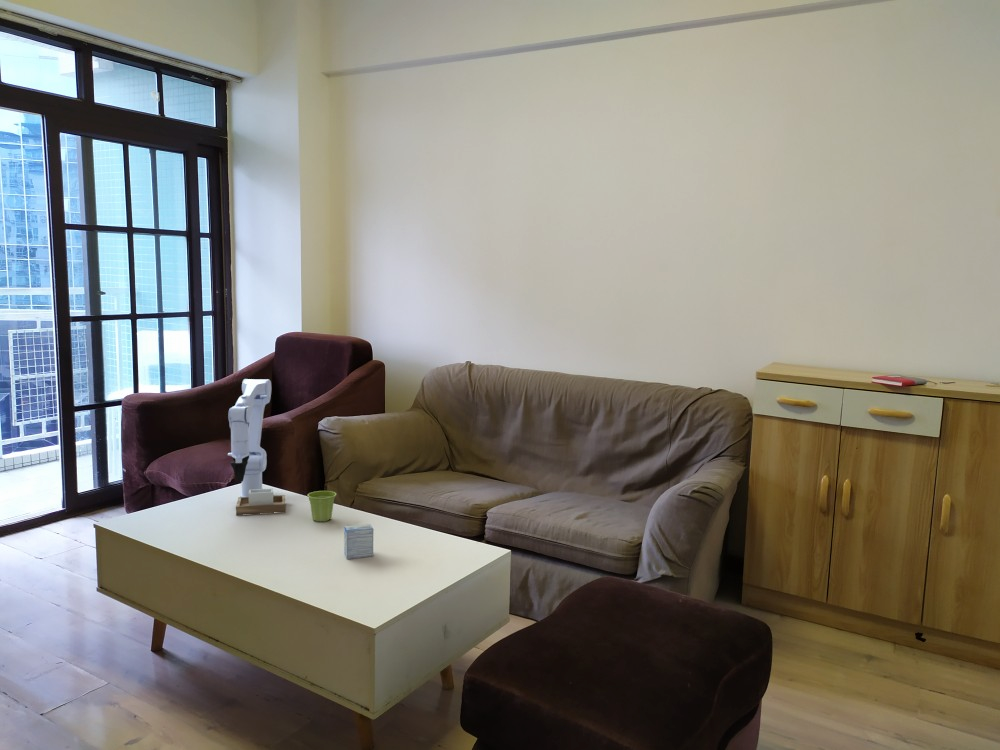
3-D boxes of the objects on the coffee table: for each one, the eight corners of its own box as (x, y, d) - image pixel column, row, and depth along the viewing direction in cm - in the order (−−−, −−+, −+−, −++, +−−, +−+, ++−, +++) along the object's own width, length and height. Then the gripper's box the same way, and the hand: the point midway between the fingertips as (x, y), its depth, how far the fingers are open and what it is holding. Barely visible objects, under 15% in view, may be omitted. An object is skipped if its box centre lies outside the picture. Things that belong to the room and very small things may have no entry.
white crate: (249, 504, 259) (249, 489, 259) (273, 503, 261) (273, 488, 261) (248, 508, 254) (248, 493, 254) (273, 507, 257) (272, 492, 256)
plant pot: (306, 516, 251) (306, 491, 250) (335, 514, 254) (335, 489, 253) (308, 524, 242) (308, 498, 241) (337, 522, 245) (337, 497, 244)
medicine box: (370, 551, 219) (370, 523, 218) (373, 556, 215) (373, 527, 214) (343, 554, 216) (343, 525, 215) (346, 559, 212) (346, 530, 211)
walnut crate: (238, 505, 262) (238, 497, 261) (285, 502, 266) (285, 494, 266) (236, 515, 250) (235, 506, 250) (285, 512, 254) (285, 504, 254)
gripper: (229, 437, 262) (229, 474, 264) (225, 445, 248) (226, 484, 250) (250, 436, 264) (250, 473, 265) (247, 444, 250) (248, 483, 252)
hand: (240, 478), depth 258 cm, fingers open, 7 cm apart
